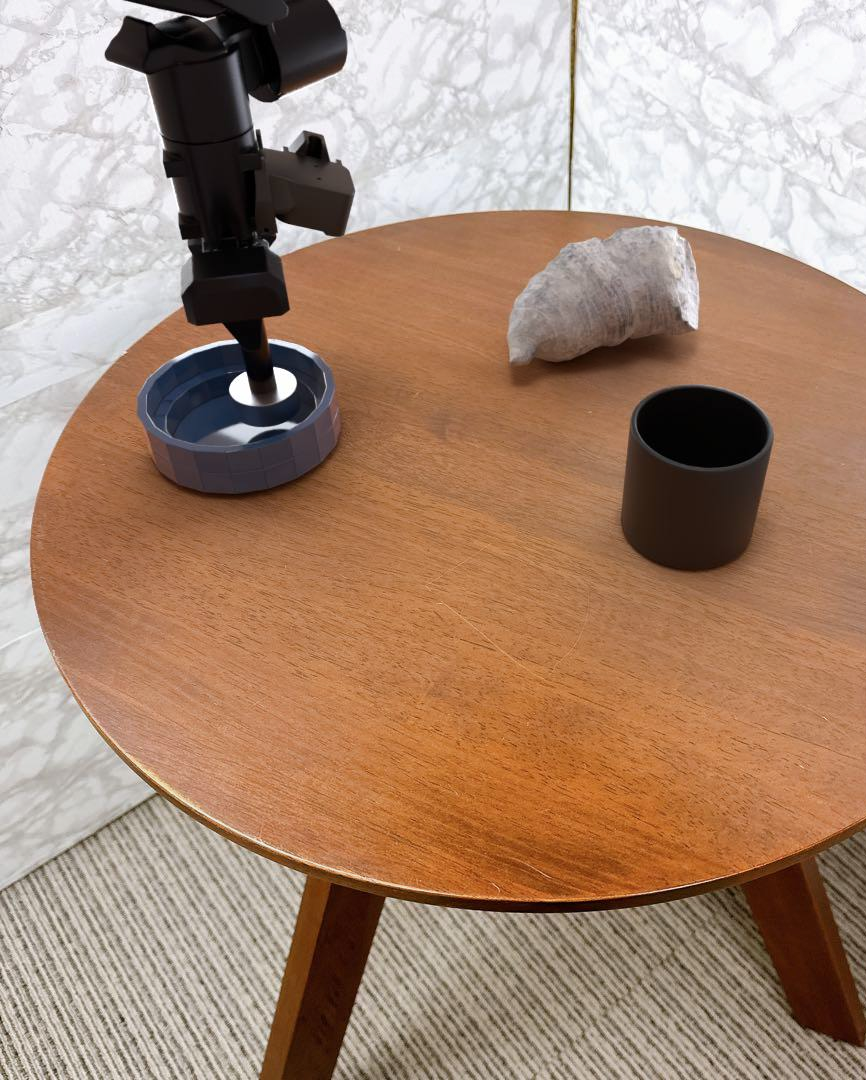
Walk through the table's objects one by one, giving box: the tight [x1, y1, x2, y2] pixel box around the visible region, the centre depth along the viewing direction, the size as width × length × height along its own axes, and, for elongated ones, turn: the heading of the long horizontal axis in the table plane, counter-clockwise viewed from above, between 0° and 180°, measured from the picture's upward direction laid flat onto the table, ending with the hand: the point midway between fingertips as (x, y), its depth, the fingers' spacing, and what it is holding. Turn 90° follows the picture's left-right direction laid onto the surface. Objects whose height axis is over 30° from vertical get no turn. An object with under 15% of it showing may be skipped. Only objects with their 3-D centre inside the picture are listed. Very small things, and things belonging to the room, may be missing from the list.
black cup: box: [620, 383, 775, 571], centre depth 71 cm, size 9×12×9 cm
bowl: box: [136, 338, 342, 495], centre depth 78 cm, size 14×14×4 cm
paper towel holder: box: [229, 318, 301, 427], centre depth 74 cm, size 5×5×11 cm
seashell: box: [506, 224, 701, 367], centre depth 86 cm, size 16×15×10 cm
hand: (252, 340), depth 74 cm, fingers closed on paper towel holder
